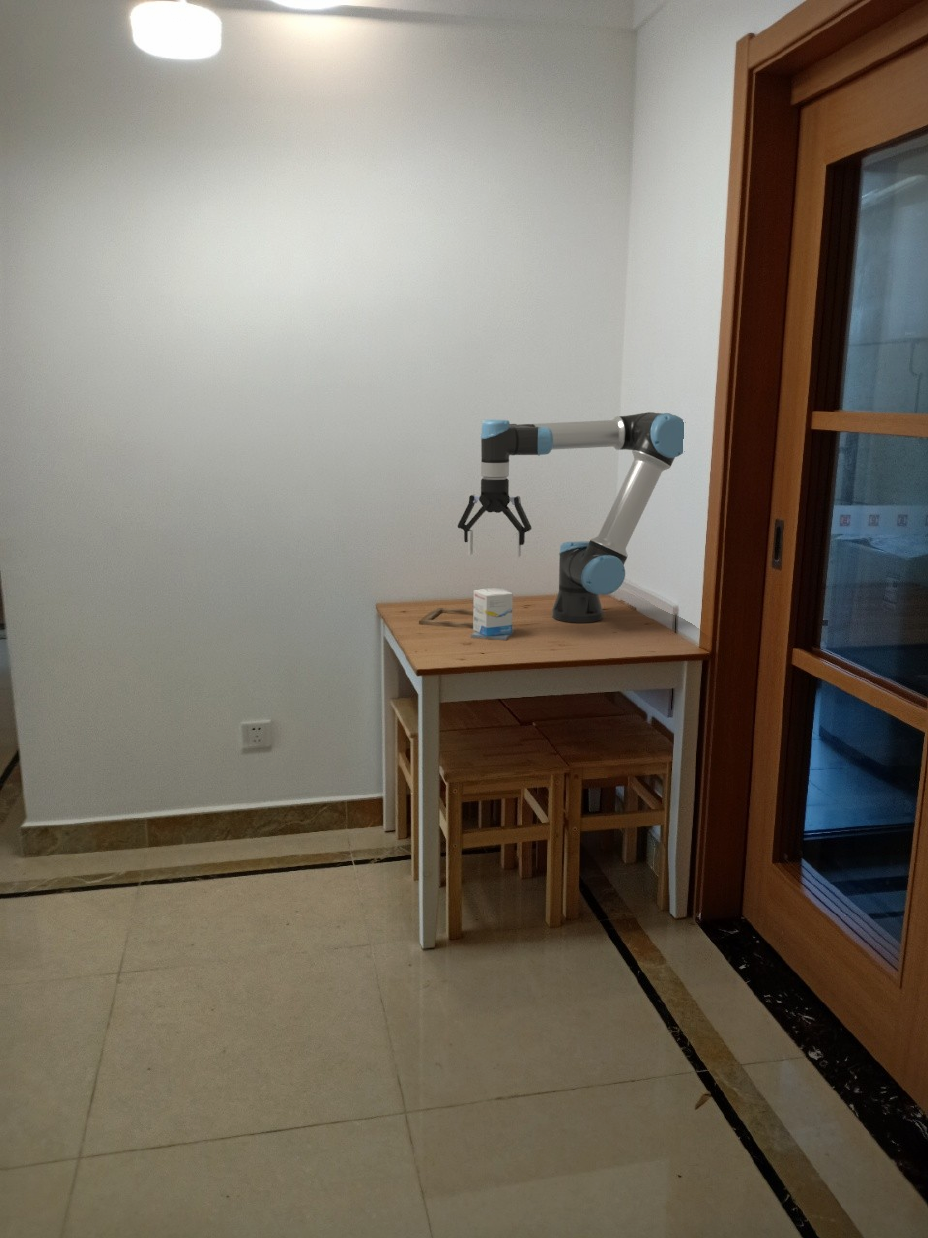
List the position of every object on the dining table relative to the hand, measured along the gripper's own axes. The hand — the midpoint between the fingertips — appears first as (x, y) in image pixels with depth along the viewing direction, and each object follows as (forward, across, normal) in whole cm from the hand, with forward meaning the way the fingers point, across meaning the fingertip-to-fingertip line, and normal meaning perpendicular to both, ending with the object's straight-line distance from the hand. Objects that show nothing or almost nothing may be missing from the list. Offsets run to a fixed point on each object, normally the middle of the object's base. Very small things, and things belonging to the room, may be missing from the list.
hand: (494, 555), depth 279 cm
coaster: (+22, 0, 0) cm, 23 cm away
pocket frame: (+22, +15, -14) cm, 30 cm away
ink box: (+22, 0, 0) cm, 22 cm away
